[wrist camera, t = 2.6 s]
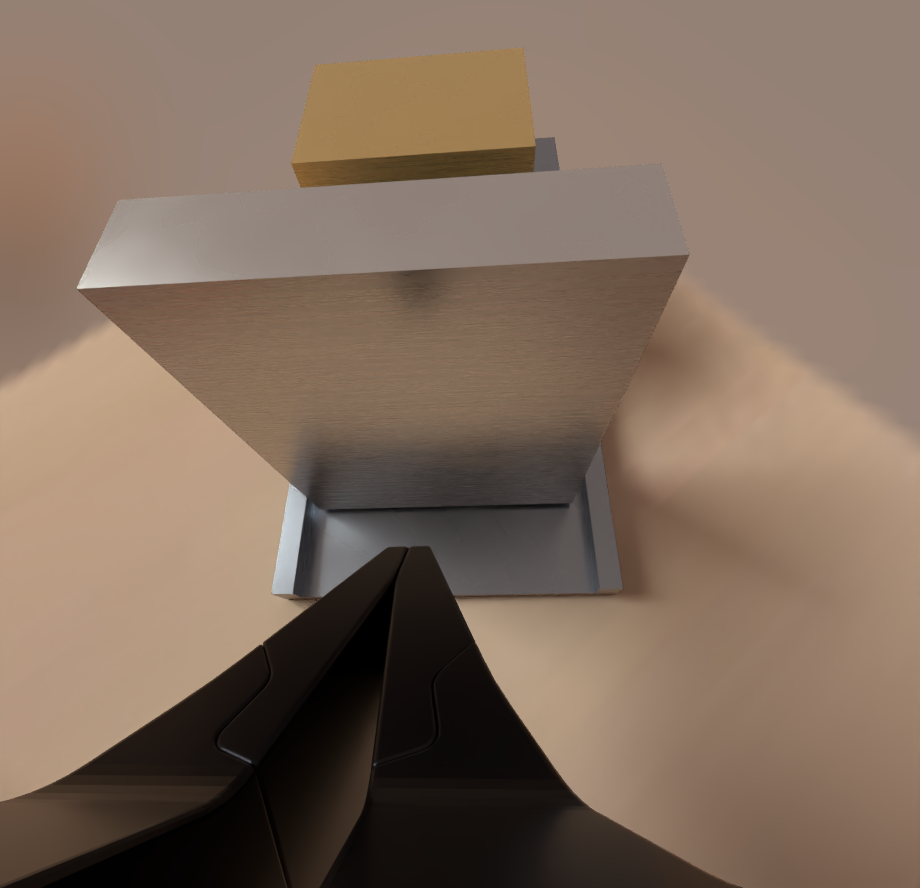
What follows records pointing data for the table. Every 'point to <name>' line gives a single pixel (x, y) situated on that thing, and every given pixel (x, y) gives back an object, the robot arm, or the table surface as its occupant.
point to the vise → (462, 534)
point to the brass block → (416, 119)
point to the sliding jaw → (404, 324)
